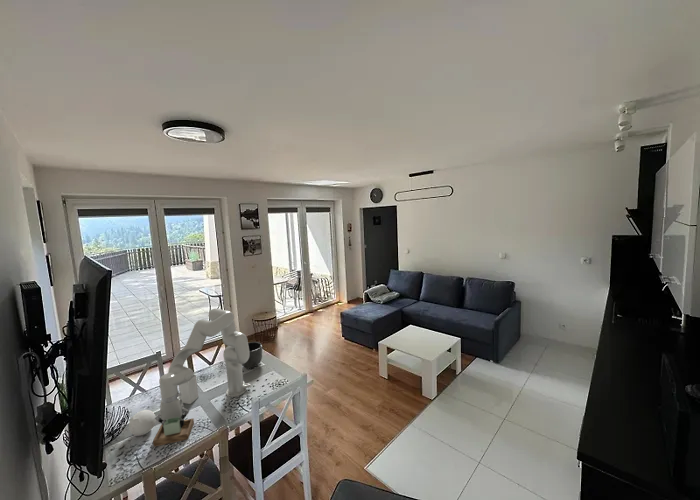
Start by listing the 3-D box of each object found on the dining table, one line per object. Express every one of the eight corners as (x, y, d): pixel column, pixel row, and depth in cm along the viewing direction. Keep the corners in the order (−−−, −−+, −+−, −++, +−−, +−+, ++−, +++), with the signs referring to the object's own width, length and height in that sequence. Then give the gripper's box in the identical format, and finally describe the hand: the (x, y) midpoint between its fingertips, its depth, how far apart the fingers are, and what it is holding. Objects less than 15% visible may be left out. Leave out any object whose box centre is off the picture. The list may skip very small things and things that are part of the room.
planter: (268, 362, 225) (266, 343, 223) (252, 374, 210) (250, 353, 208) (251, 359, 232) (249, 340, 230) (234, 369, 217) (233, 350, 215)
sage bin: (183, 423, 158) (182, 413, 158) (179, 432, 152) (178, 422, 151) (169, 426, 157) (167, 416, 156) (164, 435, 150) (163, 425, 149)
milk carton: (190, 404, 179) (187, 375, 176) (180, 403, 180) (177, 375, 178) (198, 397, 186) (195, 369, 183) (189, 395, 187) (185, 368, 185)
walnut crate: (194, 423, 162) (193, 418, 162) (188, 439, 151) (187, 433, 150) (162, 429, 158) (161, 424, 158) (153, 446, 147) (152, 441, 146)
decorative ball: (125, 438, 153) (121, 417, 152) (147, 422, 164) (144, 403, 163) (140, 443, 149) (137, 422, 147) (162, 427, 160) (159, 407, 159)
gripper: (190, 389, 157) (193, 419, 160) (154, 396, 153) (158, 426, 155) (186, 398, 150) (190, 428, 153) (148, 405, 146) (153, 436, 148)
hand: (174, 427), depth 154 cm, fingers closed on sage bin, 6 cm apart
